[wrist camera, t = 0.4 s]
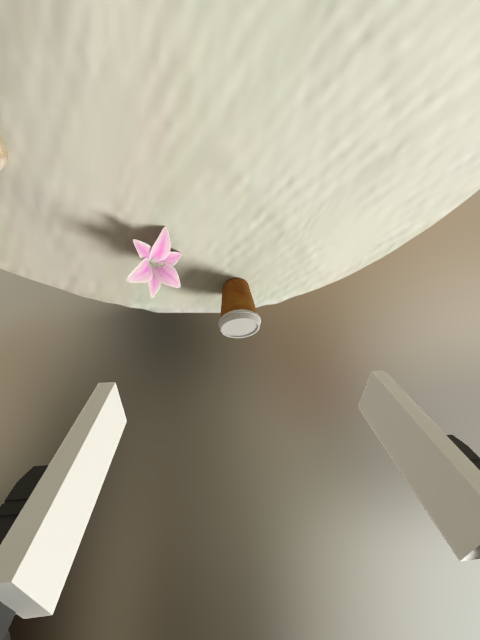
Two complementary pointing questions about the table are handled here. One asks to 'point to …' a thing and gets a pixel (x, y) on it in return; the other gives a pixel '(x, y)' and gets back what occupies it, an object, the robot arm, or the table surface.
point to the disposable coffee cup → (238, 310)
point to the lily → (156, 264)
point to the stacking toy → (2, 155)
